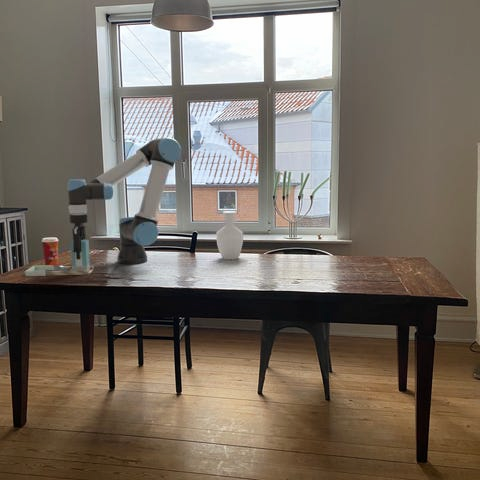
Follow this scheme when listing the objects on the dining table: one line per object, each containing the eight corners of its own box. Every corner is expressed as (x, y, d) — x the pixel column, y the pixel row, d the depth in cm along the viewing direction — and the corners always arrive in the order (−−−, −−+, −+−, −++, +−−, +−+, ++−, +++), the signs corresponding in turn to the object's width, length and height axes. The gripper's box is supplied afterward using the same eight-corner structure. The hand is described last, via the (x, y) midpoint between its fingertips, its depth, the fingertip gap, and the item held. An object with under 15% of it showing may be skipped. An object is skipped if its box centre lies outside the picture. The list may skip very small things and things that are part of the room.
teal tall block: (90, 269, 208) (88, 239, 206) (87, 272, 202) (85, 241, 200) (75, 269, 208) (73, 239, 206) (72, 272, 202) (70, 241, 200)
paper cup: (54, 268, 217) (52, 239, 215) (39, 267, 218) (37, 239, 216) (63, 265, 225) (61, 237, 222) (49, 264, 226) (47, 236, 224)
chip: (64, 270, 208) (64, 265, 208) (62, 272, 204) (61, 266, 204) (55, 270, 208) (55, 265, 207) (52, 272, 204) (52, 267, 203)
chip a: (71, 272, 205) (70, 266, 204) (68, 274, 201) (68, 268, 200) (62, 272, 204) (61, 267, 204) (59, 274, 200) (59, 268, 200)
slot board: (94, 270, 211) (93, 265, 211) (88, 276, 200) (88, 270, 200) (54, 271, 209) (54, 266, 209) (46, 277, 198) (46, 271, 198)
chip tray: (53, 271, 210) (53, 265, 209) (45, 277, 198) (44, 270, 197) (34, 271, 209) (34, 265, 208) (25, 277, 197) (24, 271, 197)
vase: (248, 257, 244) (248, 211, 240) (233, 261, 232) (233, 213, 228) (226, 254, 251) (226, 210, 247) (211, 259, 239) (210, 212, 236)
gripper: (75, 212, 210) (77, 260, 214) (63, 216, 191) (66, 269, 195) (91, 212, 211) (94, 260, 214) (81, 216, 192) (84, 268, 196)
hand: (81, 264), depth 205 cm, fingers closed on teal tall block, 6 cm apart
